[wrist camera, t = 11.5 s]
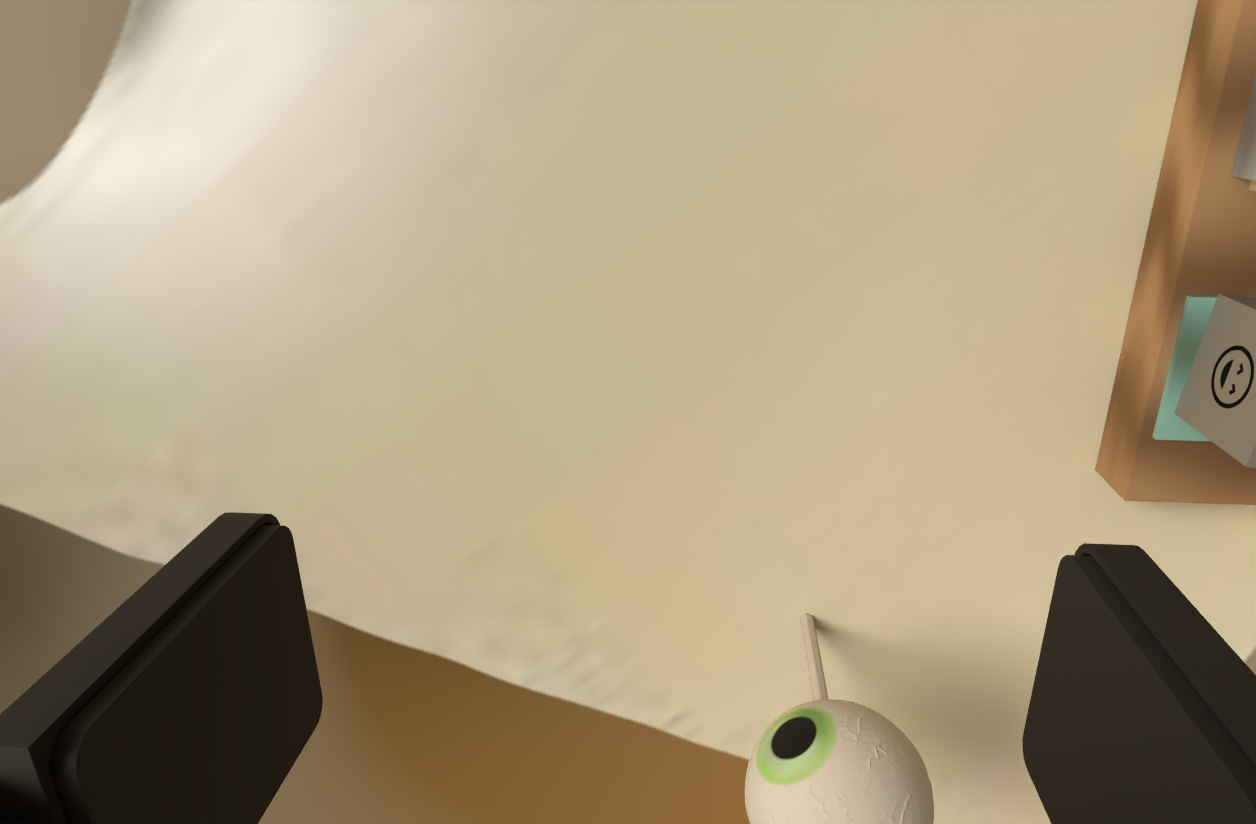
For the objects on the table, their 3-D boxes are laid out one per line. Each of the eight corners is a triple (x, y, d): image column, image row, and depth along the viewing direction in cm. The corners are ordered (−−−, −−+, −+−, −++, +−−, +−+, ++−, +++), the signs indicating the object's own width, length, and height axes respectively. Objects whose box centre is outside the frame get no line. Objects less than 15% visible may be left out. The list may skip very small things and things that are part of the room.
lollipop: (832, 536, 41) (892, 770, 28) (903, 638, 43) (993, 905, 29) (711, 600, 44) (710, 848, 30) (784, 695, 45) (814, 970, 32)
